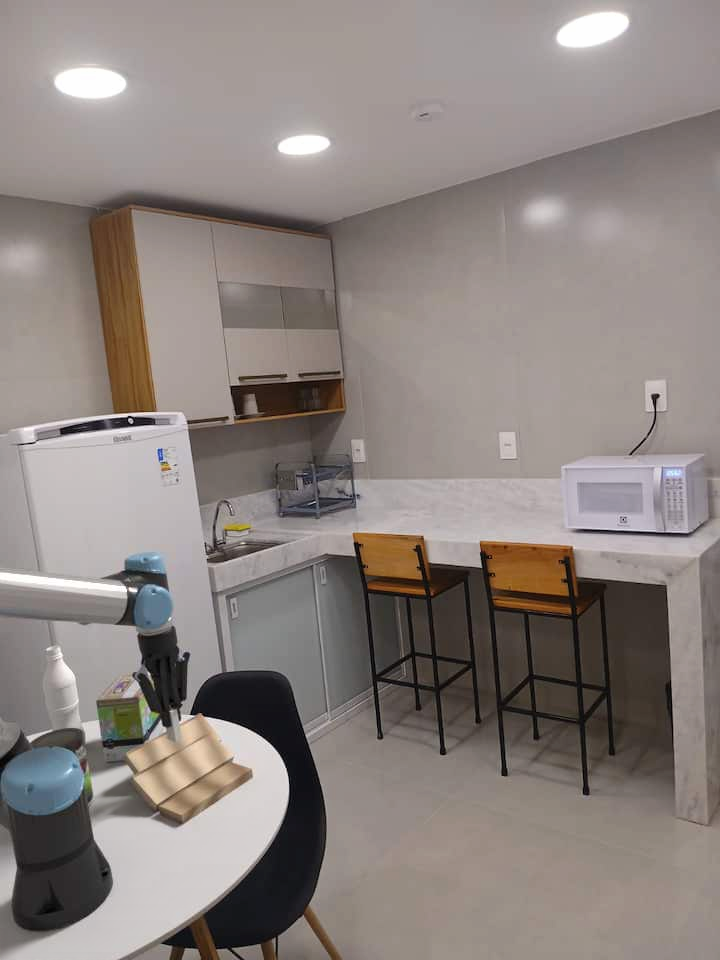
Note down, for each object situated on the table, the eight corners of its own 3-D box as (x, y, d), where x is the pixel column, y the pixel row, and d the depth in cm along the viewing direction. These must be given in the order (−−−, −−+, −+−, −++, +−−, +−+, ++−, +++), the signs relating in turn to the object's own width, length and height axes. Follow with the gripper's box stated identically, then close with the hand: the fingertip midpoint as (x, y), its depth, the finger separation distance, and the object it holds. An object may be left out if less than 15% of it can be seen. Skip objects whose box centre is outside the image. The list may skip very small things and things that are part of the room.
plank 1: (144, 788, 150) (147, 783, 149) (123, 758, 153) (125, 753, 152) (219, 744, 165) (221, 739, 164) (198, 717, 169) (200, 712, 168)
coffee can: (104, 791, 152) (93, 726, 150) (75, 821, 142) (63, 752, 140) (60, 791, 154) (48, 727, 152) (28, 820, 144) (15, 752, 142)
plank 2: (155, 811, 141) (156, 804, 141) (130, 782, 145) (131, 776, 144) (232, 762, 157) (234, 755, 156) (208, 737, 161) (209, 731, 160)
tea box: (148, 759, 164) (138, 695, 162) (104, 763, 164) (93, 700, 162) (167, 727, 179) (158, 669, 177) (126, 732, 179) (116, 673, 177)
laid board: (183, 824, 136) (181, 814, 136) (159, 814, 141) (158, 804, 140) (253, 777, 150) (251, 768, 150) (229, 769, 155) (228, 760, 154)
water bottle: (47, 757, 170) (29, 654, 167) (68, 742, 177) (50, 642, 174) (73, 758, 168) (55, 653, 165) (93, 743, 175) (76, 642, 171)
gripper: (140, 643, 141) (160, 758, 144) (193, 620, 151) (211, 728, 154) (117, 638, 146) (137, 750, 149) (170, 616, 156) (187, 721, 159)
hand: (174, 738), depth 151 cm, fingers closed
